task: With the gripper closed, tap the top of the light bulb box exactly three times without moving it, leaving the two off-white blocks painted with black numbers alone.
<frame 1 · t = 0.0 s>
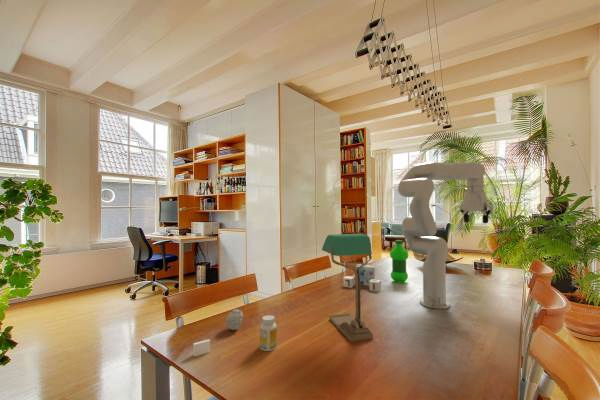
hand: (475, 222, 146), 37 cm above the table, tool pointing down, fingers open, 9 cm apart
eraser: (201, 354, 87), on the table
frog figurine: (234, 329, 104), on the table
banker's lamp: (348, 327, 106), on the table
light bulb box: (365, 284, 165), on the table
numbered block 1: (375, 289, 154), on the table
plastic bottle: (399, 282, 169), on the table
numbered block 7: (348, 286, 161), on the table
supplement bottle: (268, 348, 91), on the table
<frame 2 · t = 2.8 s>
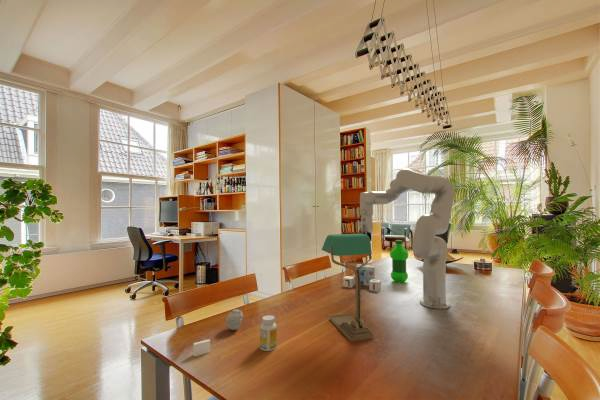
hand: (366, 241, 166), 25 cm above the table, tool pointing down, fingers open, 9 cm apart
nothing on the table moved.
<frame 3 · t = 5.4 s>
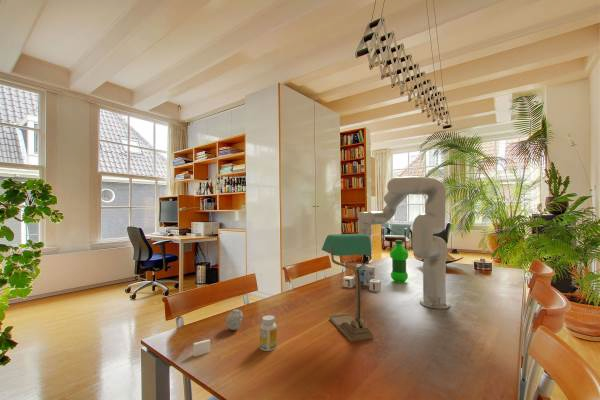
hand: (365, 263, 165), 12 cm above the table, tool pointing down, fingers closed
nothing on the table moved.
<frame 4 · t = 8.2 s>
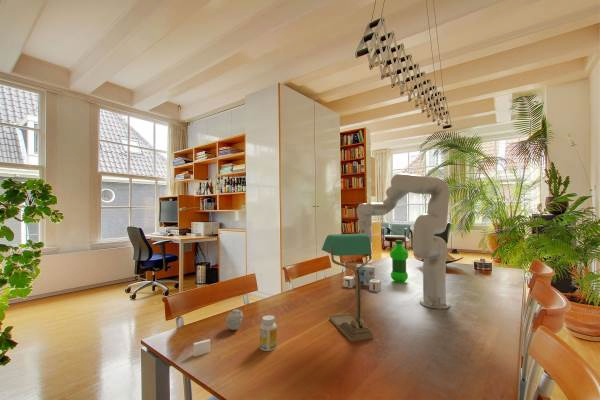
hand: (365, 255, 165), 17 cm above the table, tool pointing down, fingers closed
nothing on the table moved.
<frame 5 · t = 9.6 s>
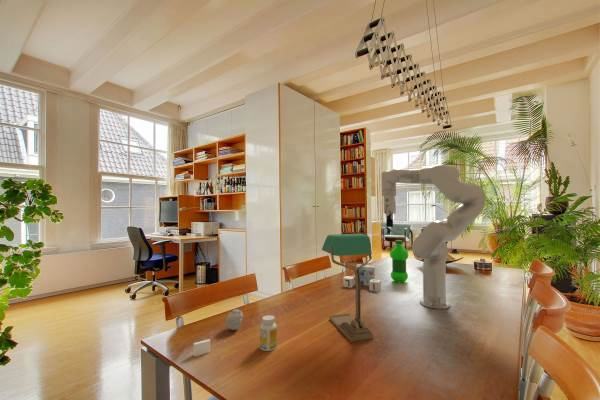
hand: (389, 226, 153), 35 cm above the table, tool pointing down, fingers closed
nothing on the table moved.
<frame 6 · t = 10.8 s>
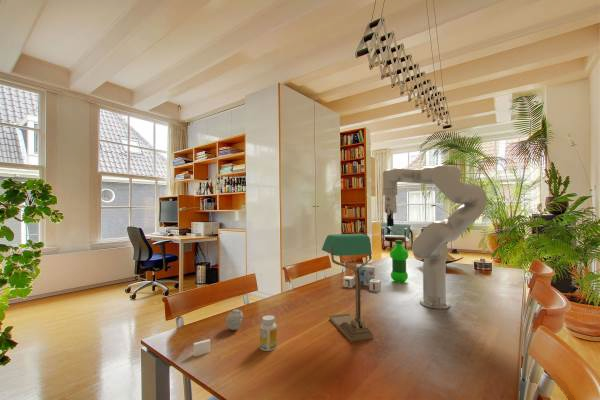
hand: (390, 226, 152), 35 cm above the table, tool pointing down, fingers closed
nothing on the table moved.
at the end: light bulb box moved 0.3 cm from its start; light bulb box tilted 0°; numbered block 7 moved 0.1 cm from its start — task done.
